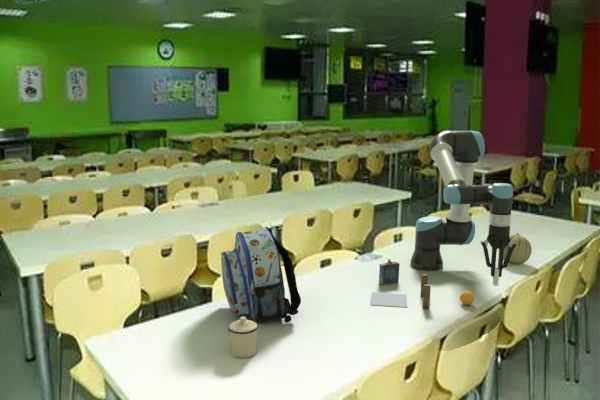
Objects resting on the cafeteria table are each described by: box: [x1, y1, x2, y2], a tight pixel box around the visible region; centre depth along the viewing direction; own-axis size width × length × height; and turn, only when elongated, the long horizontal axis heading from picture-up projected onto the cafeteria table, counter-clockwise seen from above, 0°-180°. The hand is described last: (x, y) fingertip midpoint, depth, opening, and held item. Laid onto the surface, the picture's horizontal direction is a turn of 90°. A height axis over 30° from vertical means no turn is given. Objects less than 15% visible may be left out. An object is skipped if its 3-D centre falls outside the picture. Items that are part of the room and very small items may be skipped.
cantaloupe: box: [503, 232, 532, 266], centre depth 270 cm, size 15×15×15 cm
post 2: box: [422, 284, 431, 310], centre depth 215 cm, size 3×3×9 cm
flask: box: [378, 258, 400, 286], centre depth 242 cm, size 9×3×11 cm, turn 109°
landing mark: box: [370, 291, 408, 308], centre depth 224 cm, size 14×14×1 cm
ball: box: [459, 290, 476, 306], centre depth 219 cm, size 6×6×6 cm
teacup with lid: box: [227, 316, 258, 359], centre depth 178 cm, size 12×9×12 cm
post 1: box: [420, 273, 429, 298], centre depth 227 cm, size 3×3×9 cm
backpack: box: [220, 226, 302, 324], centre depth 208 cm, size 33×25×31 cm
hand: (495, 284), depth 216 cm, fingers closed
